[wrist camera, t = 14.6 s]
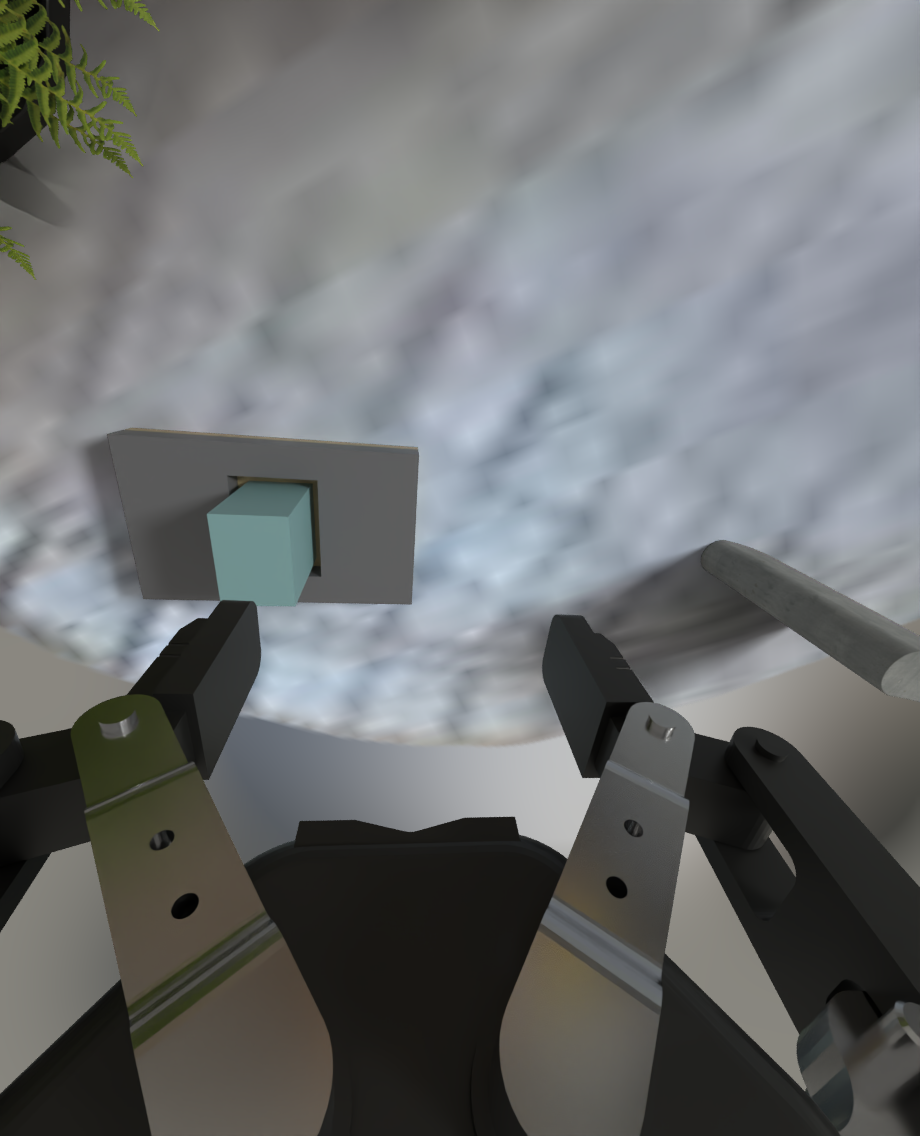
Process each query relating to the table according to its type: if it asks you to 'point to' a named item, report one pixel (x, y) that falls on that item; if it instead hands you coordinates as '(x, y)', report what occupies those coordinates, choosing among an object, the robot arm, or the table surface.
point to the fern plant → (50, 84)
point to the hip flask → (823, 617)
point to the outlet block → (226, 462)
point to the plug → (264, 542)
